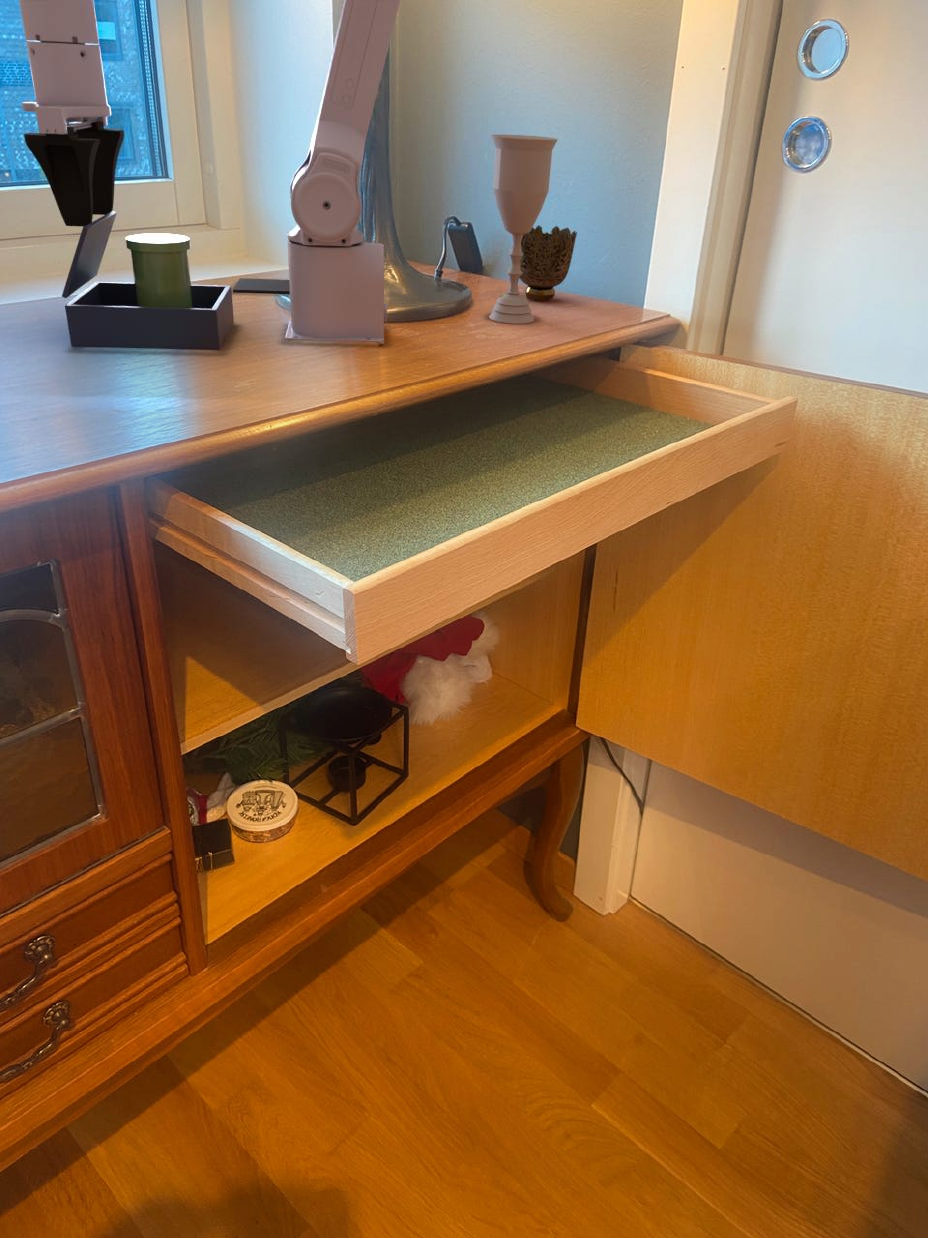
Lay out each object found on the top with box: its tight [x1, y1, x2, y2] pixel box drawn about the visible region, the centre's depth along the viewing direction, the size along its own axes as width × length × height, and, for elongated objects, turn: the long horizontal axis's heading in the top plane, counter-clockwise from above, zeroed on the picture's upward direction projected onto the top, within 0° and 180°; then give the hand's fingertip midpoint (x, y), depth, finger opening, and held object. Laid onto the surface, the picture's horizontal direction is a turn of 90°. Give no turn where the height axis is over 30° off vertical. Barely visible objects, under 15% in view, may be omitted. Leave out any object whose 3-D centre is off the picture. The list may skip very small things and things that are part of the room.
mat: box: [232, 277, 290, 295], centre depth 110 cm, size 7×7×1 cm
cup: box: [519, 225, 578, 302], centre depth 111 cm, size 8×7×8 cm
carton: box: [64, 281, 235, 351], centre depth 87 cm, size 13×11×4 cm
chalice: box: [488, 134, 558, 325], centre depth 99 cm, size 7×7×18 cm
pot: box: [125, 233, 193, 308], centre depth 86 cm, size 6×6×8 cm
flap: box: [61, 210, 118, 299], centre depth 84 cm, size 6×11×1 cm
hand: (90, 219), depth 84 cm, fingers open, 7 cm apart
